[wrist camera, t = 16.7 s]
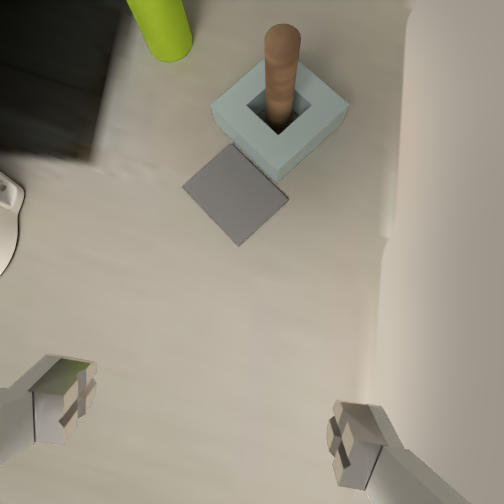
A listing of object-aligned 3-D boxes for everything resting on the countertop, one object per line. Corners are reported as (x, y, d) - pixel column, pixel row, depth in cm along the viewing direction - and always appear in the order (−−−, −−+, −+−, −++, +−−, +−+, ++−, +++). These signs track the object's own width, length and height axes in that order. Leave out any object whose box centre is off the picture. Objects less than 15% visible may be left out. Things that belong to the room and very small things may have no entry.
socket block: (215, 123, 37) (210, 105, 34) (279, 67, 38) (280, 44, 34) (276, 183, 35) (277, 170, 32) (341, 123, 36) (349, 104, 33)
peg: (260, 123, 37) (257, 39, 25) (278, 108, 37) (283, 17, 25) (277, 139, 36) (282, 61, 24) (295, 123, 36) (308, 38, 25)
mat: (182, 187, 36) (182, 187, 36) (231, 144, 36) (231, 143, 36) (238, 246, 34) (238, 246, 34) (288, 200, 35) (288, 199, 35)
